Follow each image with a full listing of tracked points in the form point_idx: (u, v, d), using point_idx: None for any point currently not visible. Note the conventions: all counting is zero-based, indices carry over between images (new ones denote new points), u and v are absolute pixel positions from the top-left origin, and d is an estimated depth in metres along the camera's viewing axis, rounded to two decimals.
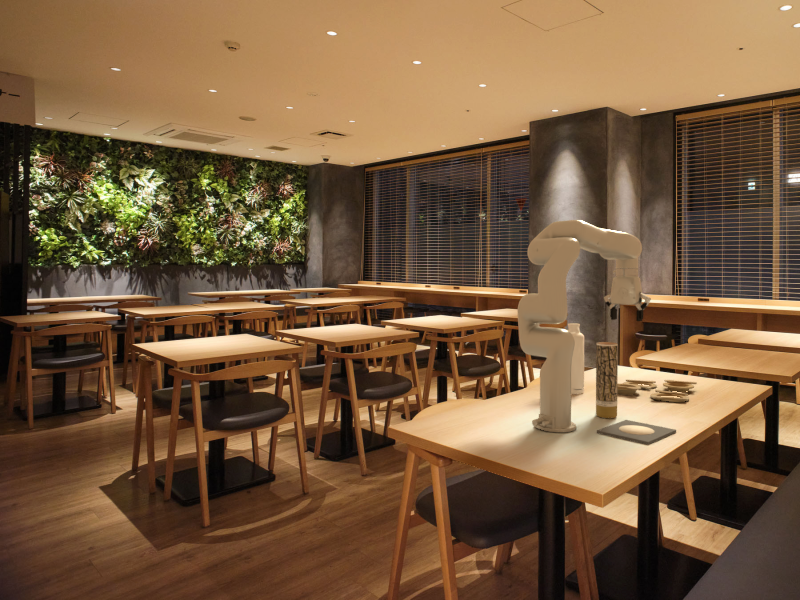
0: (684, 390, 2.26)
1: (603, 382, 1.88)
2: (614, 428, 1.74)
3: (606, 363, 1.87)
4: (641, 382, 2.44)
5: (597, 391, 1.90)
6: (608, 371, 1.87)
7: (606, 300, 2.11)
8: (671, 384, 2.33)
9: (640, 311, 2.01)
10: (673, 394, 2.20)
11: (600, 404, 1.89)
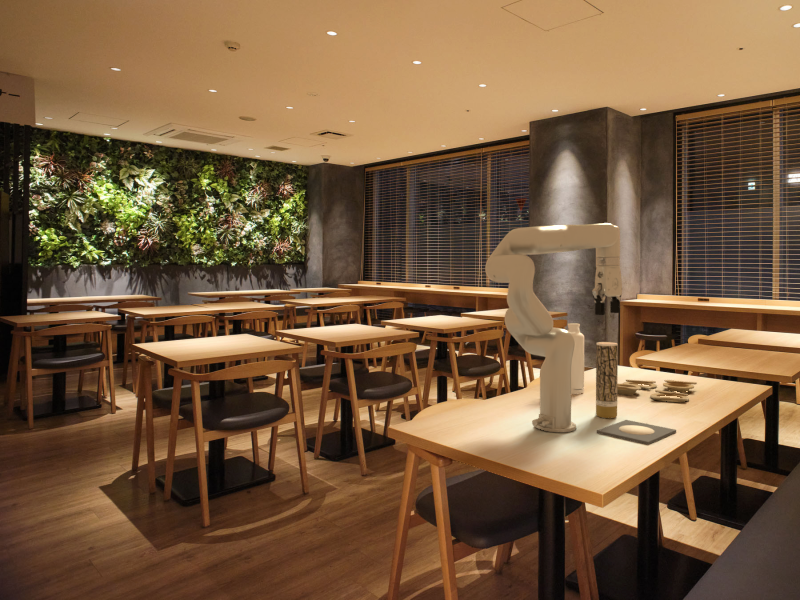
0: (684, 390, 2.26)
1: (603, 382, 1.88)
2: (614, 428, 1.74)
3: (606, 363, 1.87)
4: (641, 382, 2.44)
5: (597, 391, 1.90)
6: (608, 371, 1.87)
7: (597, 293, 1.84)
8: (671, 384, 2.33)
9: None
10: (673, 394, 2.20)
11: (600, 404, 1.89)
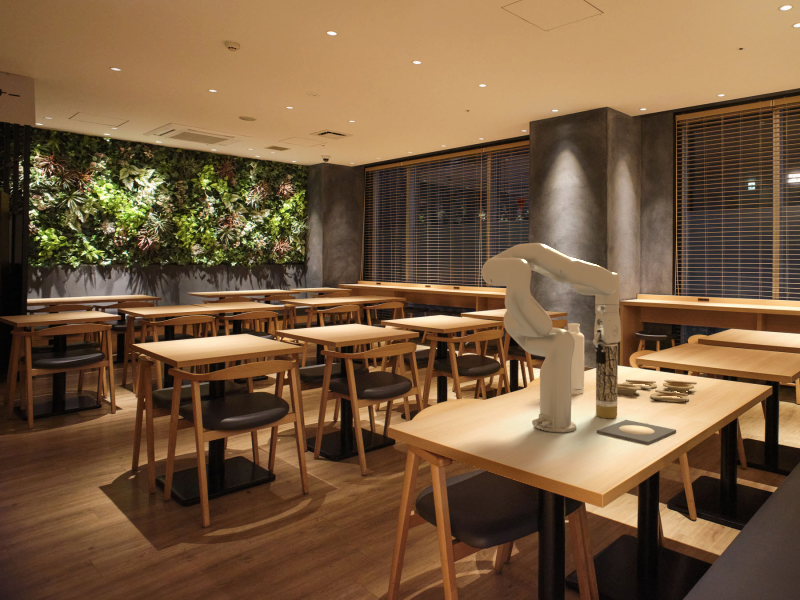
0: (684, 390, 2.26)
1: (603, 382, 1.88)
2: (614, 428, 1.74)
3: (606, 363, 1.87)
4: (641, 382, 2.44)
5: (597, 391, 1.90)
6: (608, 371, 1.87)
7: (597, 343, 1.85)
8: (671, 384, 2.33)
9: None
10: (673, 394, 2.20)
11: (600, 404, 1.89)
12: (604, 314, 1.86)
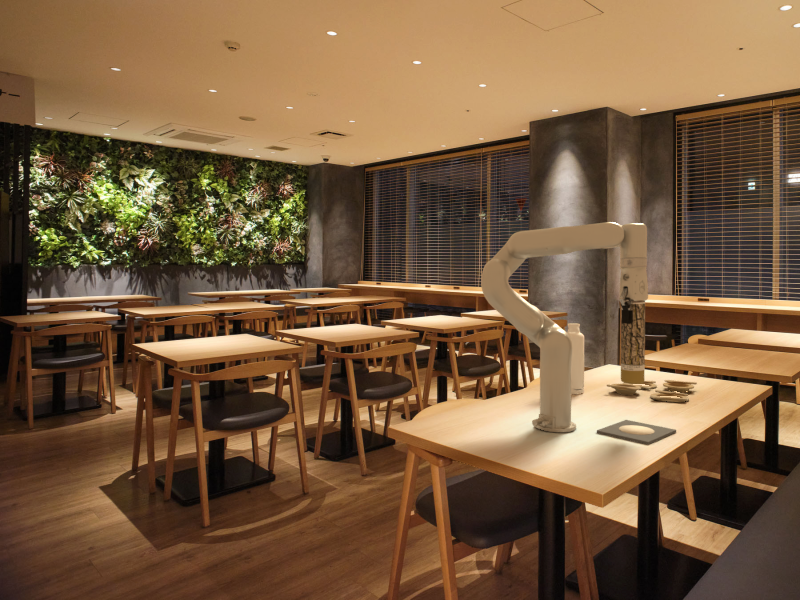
0: (684, 390, 2.26)
1: (630, 343, 1.70)
2: (614, 428, 1.74)
3: (633, 322, 1.70)
4: None
5: (622, 354, 1.73)
6: (636, 331, 1.70)
7: (624, 301, 1.68)
8: (671, 384, 2.33)
9: None
10: (673, 394, 2.20)
11: (626, 368, 1.72)
12: (631, 268, 1.69)
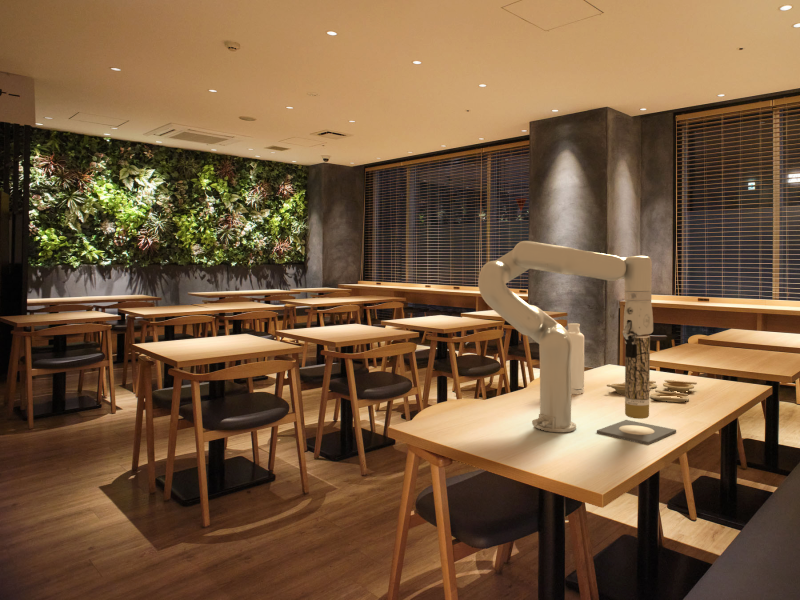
0: (684, 390, 2.26)
1: (634, 378, 1.68)
2: (614, 428, 1.74)
3: (637, 356, 1.67)
4: None
5: (627, 388, 1.70)
6: (640, 366, 1.67)
7: (628, 335, 1.66)
8: (671, 384, 2.33)
9: None
10: (673, 394, 2.20)
11: (630, 403, 1.69)
12: (635, 302, 1.66)
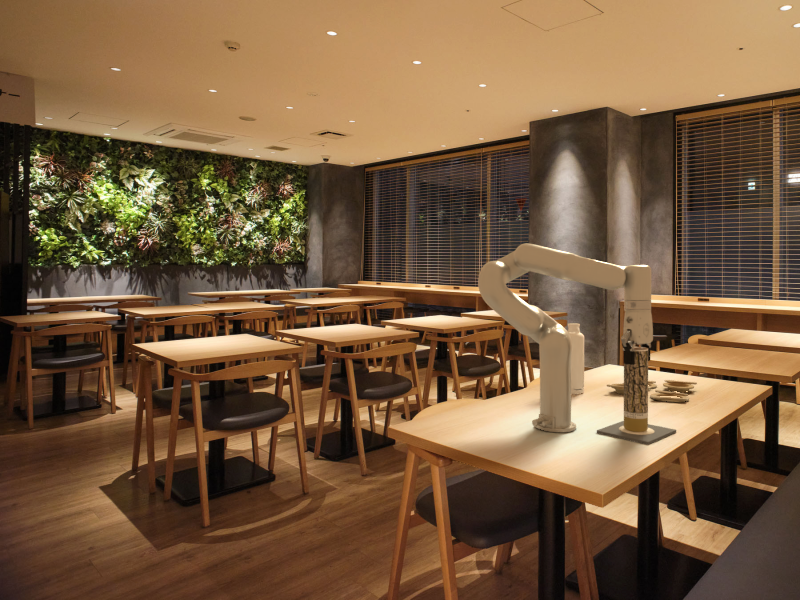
0: (684, 390, 2.26)
1: (632, 391, 1.68)
2: (614, 428, 1.74)
3: (635, 370, 1.68)
4: None
5: (625, 401, 1.71)
6: (638, 379, 1.68)
7: (626, 341, 1.65)
8: (671, 384, 2.33)
9: (648, 349, 1.74)
10: (673, 394, 2.20)
11: (629, 416, 1.70)
12: (635, 311, 1.66)
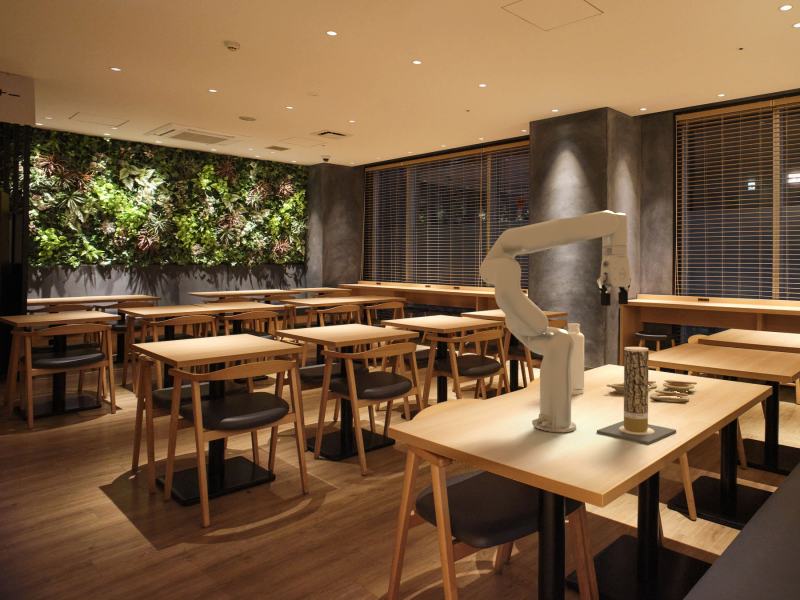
0: (684, 390, 2.26)
1: (633, 391, 1.68)
2: (614, 428, 1.74)
3: (636, 370, 1.68)
4: None
5: (625, 401, 1.71)
6: (639, 379, 1.68)
7: (602, 283, 1.78)
8: (671, 384, 2.33)
9: None
10: (673, 394, 2.20)
11: (629, 416, 1.70)
12: (611, 256, 1.79)
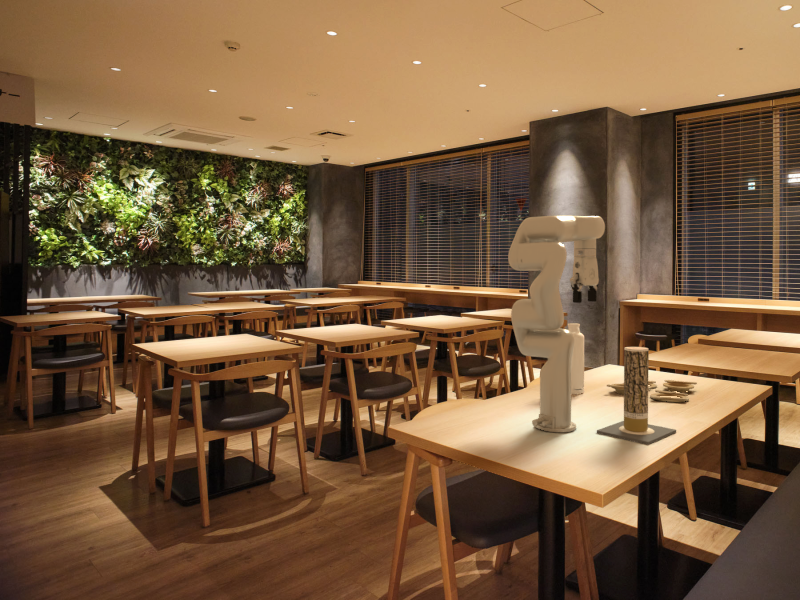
0: (684, 390, 2.26)
1: (633, 391, 1.68)
2: (614, 428, 1.74)
3: (636, 370, 1.68)
4: None
5: (625, 401, 1.71)
6: (639, 379, 1.68)
7: (574, 282, 1.96)
8: (671, 384, 2.33)
9: None
10: (673, 394, 2.20)
11: (629, 416, 1.70)
12: (582, 258, 1.98)
